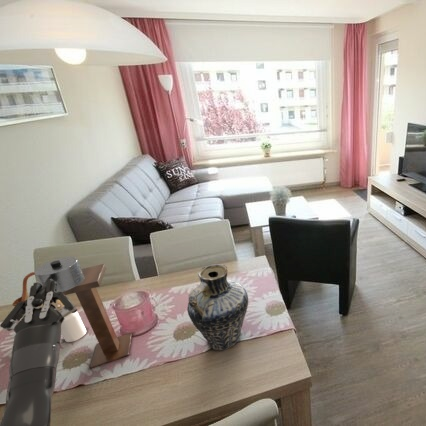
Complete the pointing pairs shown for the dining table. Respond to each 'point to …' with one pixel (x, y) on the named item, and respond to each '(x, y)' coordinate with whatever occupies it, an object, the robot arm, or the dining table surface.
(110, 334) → the stand
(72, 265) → the pot
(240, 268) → the dining table surface
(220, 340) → the blue patterned vase
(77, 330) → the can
